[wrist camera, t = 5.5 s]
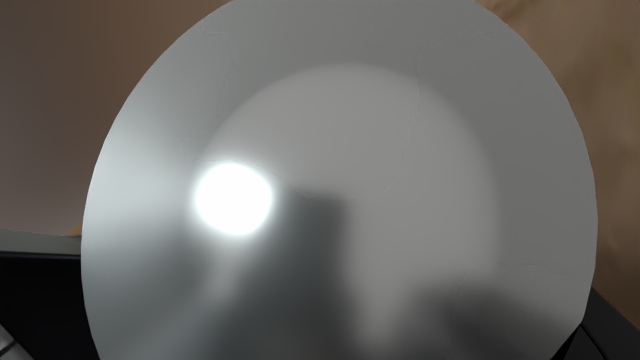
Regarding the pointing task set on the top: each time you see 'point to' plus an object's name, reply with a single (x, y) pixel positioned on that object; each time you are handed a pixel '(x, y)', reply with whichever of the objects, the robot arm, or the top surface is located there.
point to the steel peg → (341, 192)
